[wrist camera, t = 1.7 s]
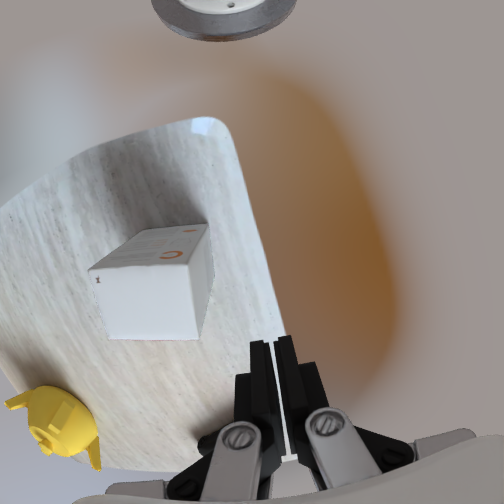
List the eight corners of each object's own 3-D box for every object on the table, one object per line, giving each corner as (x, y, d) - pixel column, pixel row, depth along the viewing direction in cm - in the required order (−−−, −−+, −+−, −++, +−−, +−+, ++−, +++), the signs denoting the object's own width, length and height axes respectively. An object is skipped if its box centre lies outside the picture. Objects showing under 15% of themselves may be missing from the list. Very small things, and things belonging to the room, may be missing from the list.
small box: (151, 280, 32) (106, 341, 20) (141, 229, 31) (84, 268, 18) (216, 276, 32) (201, 342, 20) (210, 222, 31) (186, 261, 18)
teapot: (80, 383, 38) (52, 430, 26) (117, 440, 43) (101, 483, 31) (24, 373, 38) (-5, 408, 27) (60, 427, 43) (41, 462, 32)
